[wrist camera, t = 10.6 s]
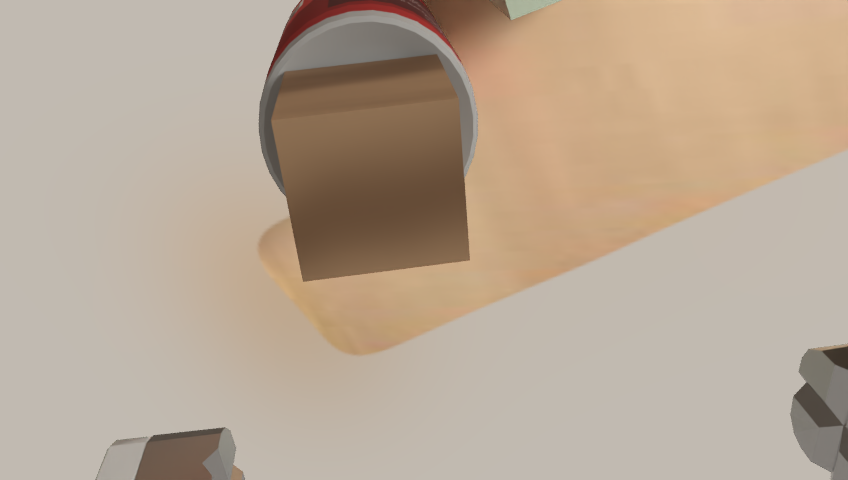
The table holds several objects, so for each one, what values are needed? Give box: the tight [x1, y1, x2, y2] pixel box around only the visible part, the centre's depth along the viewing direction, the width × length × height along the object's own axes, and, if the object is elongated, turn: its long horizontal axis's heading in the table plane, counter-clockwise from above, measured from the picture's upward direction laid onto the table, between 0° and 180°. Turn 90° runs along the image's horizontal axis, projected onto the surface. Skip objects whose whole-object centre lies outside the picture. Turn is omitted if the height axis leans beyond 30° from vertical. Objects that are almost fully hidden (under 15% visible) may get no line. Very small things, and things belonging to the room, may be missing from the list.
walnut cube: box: [271, 54, 470, 282], centre depth 22 cm, size 5×5×5 cm
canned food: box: [259, 0, 478, 196], centre depth 29 cm, size 8×8×11 cm
